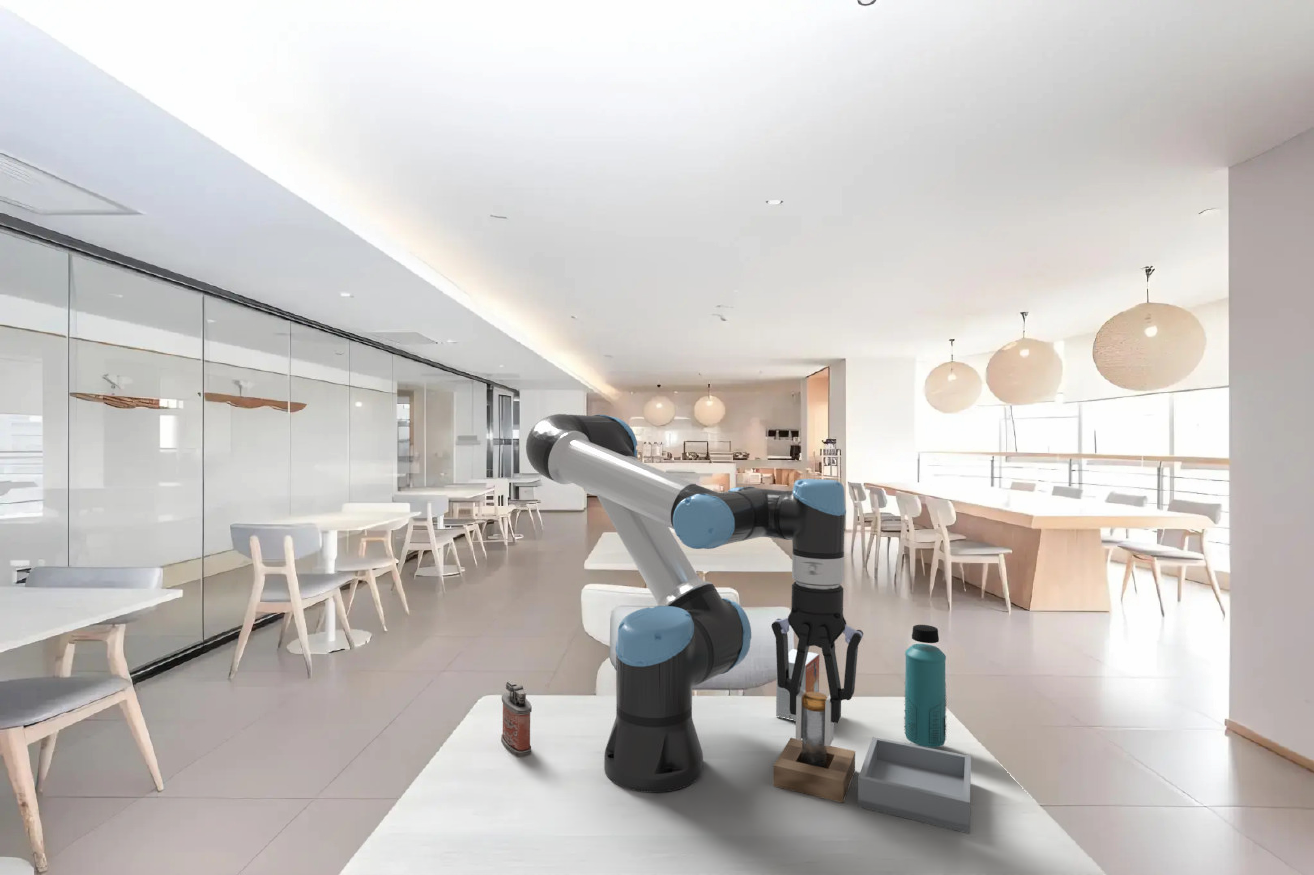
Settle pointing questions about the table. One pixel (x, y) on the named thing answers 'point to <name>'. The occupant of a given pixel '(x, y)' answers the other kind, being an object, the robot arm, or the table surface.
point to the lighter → (516, 720)
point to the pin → (814, 729)
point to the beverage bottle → (925, 690)
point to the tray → (916, 783)
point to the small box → (808, 683)
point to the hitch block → (815, 772)
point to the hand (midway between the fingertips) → (814, 738)
